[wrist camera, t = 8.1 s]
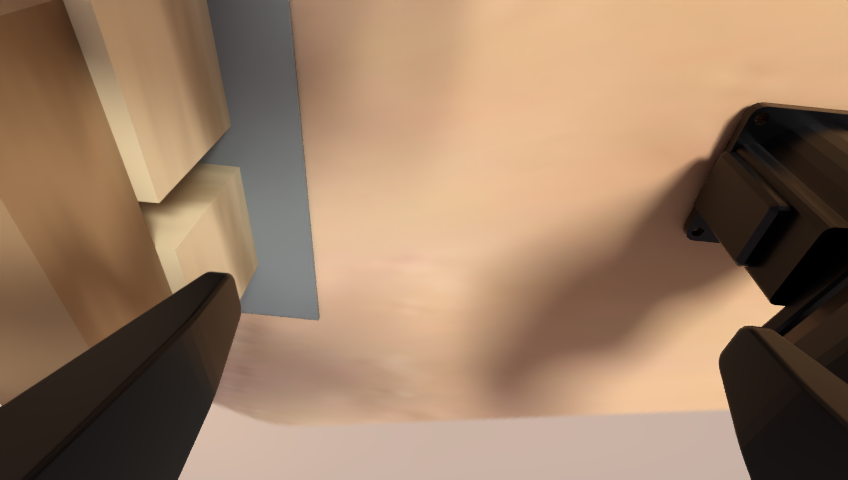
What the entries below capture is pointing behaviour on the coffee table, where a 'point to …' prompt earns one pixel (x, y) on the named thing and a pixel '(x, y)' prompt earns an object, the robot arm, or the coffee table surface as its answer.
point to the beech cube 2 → (203, 227)
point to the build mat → (266, 151)
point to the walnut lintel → (61, 205)
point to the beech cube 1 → (154, 84)
